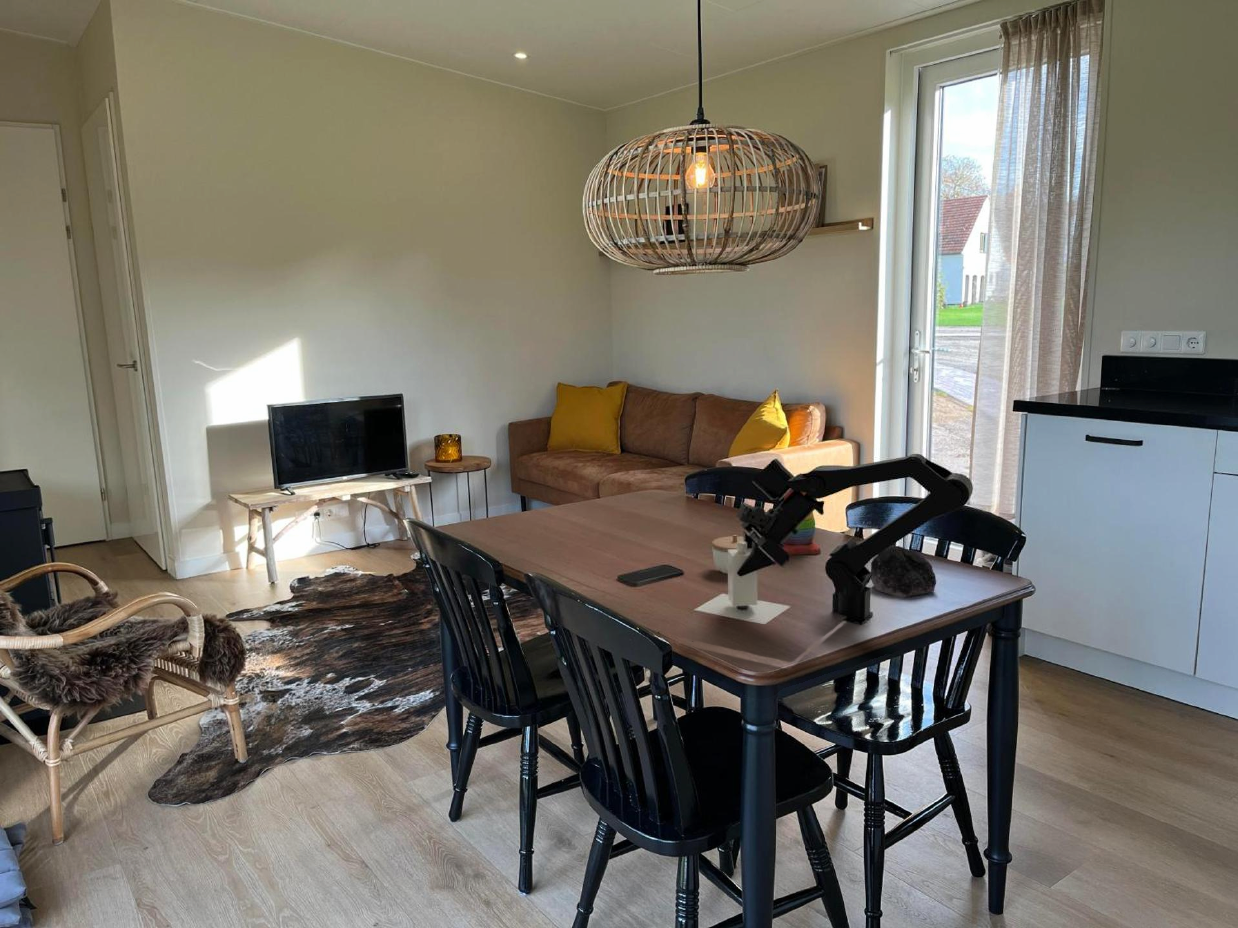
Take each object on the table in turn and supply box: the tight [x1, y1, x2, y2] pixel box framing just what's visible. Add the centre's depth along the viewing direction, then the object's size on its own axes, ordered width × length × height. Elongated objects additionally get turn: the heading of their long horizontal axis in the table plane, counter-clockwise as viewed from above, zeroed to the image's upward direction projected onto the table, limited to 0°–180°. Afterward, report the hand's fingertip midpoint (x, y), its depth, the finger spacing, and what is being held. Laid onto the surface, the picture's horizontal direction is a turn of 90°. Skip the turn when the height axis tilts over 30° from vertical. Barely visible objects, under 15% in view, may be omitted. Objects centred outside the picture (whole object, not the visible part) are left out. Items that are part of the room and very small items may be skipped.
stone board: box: [694, 593, 791, 625], centre depth 178 cm, size 16×12×1 cm
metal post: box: [737, 605, 748, 610], centre depth 178 cm, size 2×2×2 cm
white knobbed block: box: [727, 541, 758, 606], centre depth 176 cm, size 5×5×12 cm
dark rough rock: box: [870, 545, 937, 598], centre depth 190 cm, size 13×14×10 cm
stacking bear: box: [782, 489, 822, 556], centre depth 221 cm, size 11×10×18 cm
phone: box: [616, 564, 685, 587], centre depth 204 cm, size 8×1×15 cm
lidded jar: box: [711, 534, 744, 575], centre depth 204 cm, size 11×11×9 cm
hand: (735, 571), depth 176 cm, fingers closed on white knobbed block, 5 cm apart
